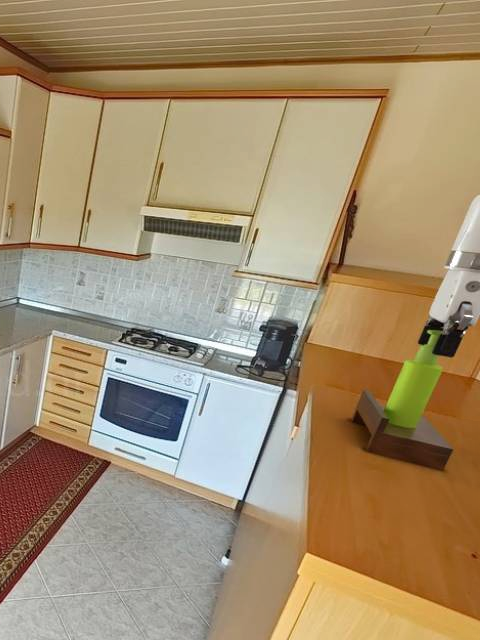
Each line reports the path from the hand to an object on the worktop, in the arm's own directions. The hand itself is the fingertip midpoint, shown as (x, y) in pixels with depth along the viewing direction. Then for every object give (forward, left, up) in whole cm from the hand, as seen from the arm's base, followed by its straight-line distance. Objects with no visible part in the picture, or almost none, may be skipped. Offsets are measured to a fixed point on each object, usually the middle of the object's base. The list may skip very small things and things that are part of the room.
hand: (434, 350), depth 98 cm
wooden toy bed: (0, 0, -21) cm, 21 cm away
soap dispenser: (0, 0, -16) cm, 16 cm away
